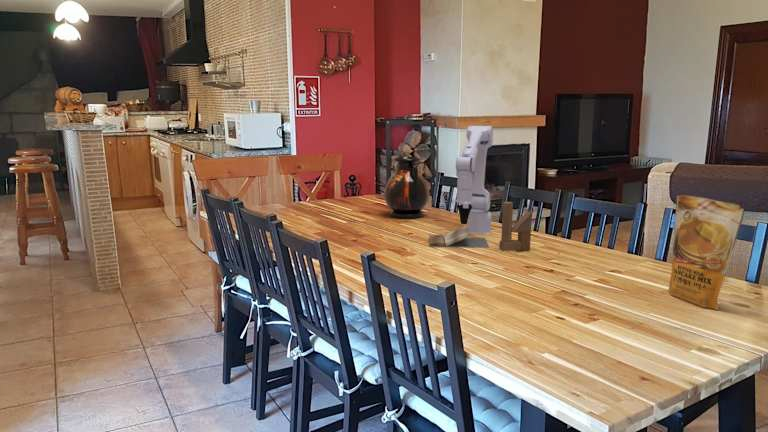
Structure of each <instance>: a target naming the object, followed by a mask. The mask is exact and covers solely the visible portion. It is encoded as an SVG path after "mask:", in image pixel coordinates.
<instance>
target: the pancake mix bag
mask: <svg viewBox="0 0 768 432" xmlns="http://www.w3.org/2000/svg"><path fill="white" fill-rule="evenodd" d="M675 197H676V199H675V201H676V203H675V205H676V206H675V213H674V214H675V215H674V224H673V225H674V227H673V237H672V253H671V254H672V257H671V274H670V278H669V279H670V280H669V284H668V285H669V286H668V289H667V292H668V293H670V294H669V295H670V296H672V297H674V298H676V299H680V300H681V301H684V302H687V303H690V304H692V305H695V306H697V307H699V308H702V309H708V310H709V309H710V310H717V311H719V306H718V305H719V303H718V299H719V295H720V292H721V290H722V286H723V283H724V281H725V277H726V274H727V273H726V272H727V270H728V267H729V264H730V260H731V257H732V253H733V251H734V249H735V246H736V245H735V244H736V242H737V241H736V240H737V237H738V233H739V231H740V227H741V224H742V222H743V220H744V215H745V208H742V206H741V205H740V204H738V203H733V202H728V201H721V200H715V199H712V198H707V197H702V196H695V195H689V194H688V195H687V194H679V195H677V196H675Z"/></svg>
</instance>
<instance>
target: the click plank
mask: <svg viewBox="0 0 768 432" xmlns="http://www.w3.org/2000/svg"><path fill="white" fill-rule="evenodd" d="M471 236H472V235H471V233H469V230H468V224H464V225H463V226H461V227H459V228H457V229H454V230H452V231H449V232H447V233H445V234H444V235H443V237H444V239H445V244H446V246H448V245H450V244H453V243H455V242H457V241H460V240H462V239H464V238H470V237H471Z"/></svg>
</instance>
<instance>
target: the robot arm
mask: <svg viewBox="0 0 768 432" xmlns="http://www.w3.org/2000/svg"><path fill="white" fill-rule="evenodd" d="M493 138H494V129H493V127H492V125H468V127H467V128H466V139H467V141H468V143H467V144H466V145H465V146H464V147H463V149H462V151H461V154H460V156H459V157H456V161H455V171H456V172H455V173H456V177H457V185H456V199H453V202H454V203H457V204H456V208H457V209H458V213H459V219H460V220H459V221H460V224H461V225H467V227H468V230H469V233H470V234H491V231H492V213H491V211H489V210H490V207H491V193H490V191H488V190H487V189H486V188H485V178H486V166H487V165H486V163H487V153H488V149H489V148H491V147H492V145H493Z"/></svg>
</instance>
